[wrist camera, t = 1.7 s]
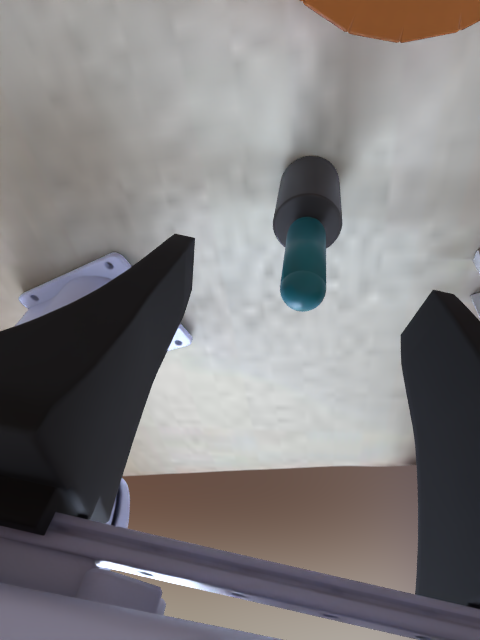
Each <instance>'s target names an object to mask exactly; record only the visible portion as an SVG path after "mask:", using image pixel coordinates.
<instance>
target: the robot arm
mask: <svg viewBox="0 0 480 640" xmlns="http://www.w3.org/2000/svg"><path fill="white" fill-rule="evenodd" d="M194 246H195V238H192V237H188V236H183V235H179V234H174V235H172V236H171V237H170V238H168V239H167V240H166V241H165V242H163V243H162V244H161V245H160V246H158V247H157V248H156V249H155V250H153V251H152V252H151V253H149V254H148V255H147V256H146V257H144V258H143V259H141V260H140V261H139V262H137V263H136V264H135V265H133V266H131V265H130V264H129V262H128V261H127V260H126V259H125V258H124V257H123V256H122V255H121V254H119V253H116V252H113V253H110V254H108V255H106V256H103V257H101V258H99V259H97V260H95V261H92V262H90V263H88V264H86V265H84V266H81V267H79V268H77V269H75V270H73V271H70V272H68V273H66V274H64V275H62V276H59V277H57V278H55V279H53V280H51V281H48V282H46V283H44V284H42V285H40V286H37V287H35V288H33V289H31V290H29V291H26V292H24V293H22V294H21V295H20V296H19V301H20V302H21V303H22V304H23V305H24V306H25V307H26V308H27V309H28V311H27V312H26V313H25V314H24V315H23V317H22V318H21V319H20V320H19V321H18V323H17V324H16V325H15V326H14V327H12V328H9V329H6V330H3V331H0V640H282V639H277V638H272V637H268V636H263V635H257V634H253V633H248V632H244V631H238V630H234V629H228V628H223V627H219V626H214V625H208V624H204V623H198V622H194V621H188V620H184V619H179V618H174V617H169V616H164V611H165V607H166V603H165V601H164V600H163V599H162V598H161V595H162V590H161V588H160V587H158V586H155V585H152V584H149V583H146V582H143V581H140V580H137V579H134V578H131V577H128V576H125V575H122V574H119V573H115V572H112V571H110V570H111V569H114V570H118V571H123V572H127V573H132V574H136V575H140V576H145V577H149V578H153V579H157V580H162V581H166V582H170V583H175V584H179V585H184V586H188V587H192V588H197V589H201V590H205V591H209V592H214V593H218V594H222V595H227V596H231V597H235V598H240V599H244V600H248V601H253V602H257V603H261V604H266V605H270V606H275V607H279V608H283V609H287V610H292V611H296V612H300V613H305V614H309V615H313V616H318V617H322V618H327V619H331V620H335V621H339V622H344V623H348V624H352V625H357V626H361V627H366V628H370V629H374V630H379V631H383V632H387V633H391V634H396V635H400V636H404V637H409V638H413V639H418V640H480V321H479V320H478V319H477V318H476V317H475V316H474V314H473V313H472V312H471V311H470V310H469V309H468V308H467V307H466V306H465V305H464V304H463V303H462V302H461V301H460V300H459V299H458V298H457V297H456V296H455V295H454V294H450V293H445V292H441V291H436V290H433V291H432V292H431V293H430V295H429V296H428V298H427V299H426V300H425V302H424V303H423V305H422V306H421V307H420V309H419V310H418V312H417V313H416V314H415V316H414V317H413V319H412V320H411V321H410V323H409V324H408V326H407V327H406V328H405V330H404V331H403V333H402V334H401V364H402V371H403V376H404V382H405V388H406V393H407V399H408V404H409V409H410V415H411V420H412V425H413V431H414V438H415V448H416V463H417V481H418V556H417V578H416V591H415V595H414V594H411V593H406V592H402V591H397V590H393V589H389V588H384V587H380V586H376V585H371V584H367V583H362V582H358V581H354V580H349V579H345V578H340V577H336V576H331V575H327V574H323V573H319V572H315V571H310V570H306V569H301V568H297V567H292V566H288V565H284V564H280V563H275V562H271V561H266V560H262V559H258V558H253V557H249V556H245V555H240V554H236V553H231V552H227V551H222V550H218V549H214V548H210V547H205V546H201V545H197V544H192V543H188V542H183V541H179V540H175V539H170V538H166V537H161V536H157V535H153V534H149V533H144V532H140V531H135V530H131V529H127V528H128V522H129V514H130V496H129V489H128V486H127V483H126V482H125V480H124V479H123V478H122V475H123V472H124V469H125V466H126V462H127V459H128V456H129V453H130V449H131V446H132V443H133V440H134V437H135V434H136V431H137V428H138V425H139V422H140V419H141V416H142V413H143V410H144V407H145V404H146V401H147V398H148V395H149V392H150V389H151V386H152V384H153V381H154V379H155V377H156V374H157V372H158V370H159V367H160V365H161V363H162V361H163V359H164V357H165V355H166V353H167V351H168V350H172V349H176V348H180V347H184V346H187V345H190V344H191V342H192V336H191V335H190V334H189V333H188V331H187V330H186V329H185V328H184V327H183V326H182V324H181V323H180V322H181V320H182V318H183V316H184V313H185V310H186V307H187V304H188V300H189V297H190V294H191V291H192V280H193V263H194ZM108 262H109V263H111V264H112V265H110V264H109V263H108Z"/></svg>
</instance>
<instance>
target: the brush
mask: <svg viewBox="0 0 480 640" xmlns="http://www.w3.org/2000/svg"><path fill="white" fill-rule="evenodd" d="M341 228H342V211H341V197H340V182H339V176H338V173H337V170H336V169H335V167H334V166H333V165H332V164H331V163H330V162H329V161H327V160H326V159H323V158H321V157H317V156H306V157H302V158H300V159H297V160H296V161H294V162H293V163H291V164H290V165H289V166H288V167H287V168H286V170H285V171H284V173H283V175H282V178H281V183H280V188H279V193H278V198H277V204H276V209H275V214H274V219H273V230H274V233H275V235H276V237H277V239H278V241H279V242H280V243H281V244H282V245H283V246H284V247H285V255H284V262H283V270H282V277H281V285H280V292H281V296H282V299H283V301H284V302H285V303H286V305H287V306H289V307H290V308H292V309H294V310H296V311H309V310H312V309H314V308H316V307H317V306H318V305H319V304H320V303H321V302H322V301H323V299H324V297H325V293H326V248H328V247H329V246H330V245H331V244H333V243H334V241H335V240H336V239H337V237H338V236H339V234H340V231H341Z"/></svg>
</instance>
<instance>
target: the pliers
mask: <svg viewBox="0 0 480 640" xmlns="http://www.w3.org/2000/svg"><path fill="white" fill-rule="evenodd" d="M473 262H474V264H475V266H476V268H477V270H478V272H479V274H480V250H477V252H476V254H475V257H474V259H473ZM470 296H471V299H472V302H473V304H474V306H475V309H476V311H477V313H478V316H479V318H480V293H477V294H473V295H470Z"/></svg>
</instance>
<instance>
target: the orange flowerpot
mask: <svg viewBox="0 0 480 640" xmlns="http://www.w3.org/2000/svg"><path fill="white" fill-rule="evenodd" d="M300 1H303V3H304V5H305V6H307V7H308V8H310V9H311V10H313V11H314V12H316V13H317V14H319V15H320V16H322V17H323V18H325V19H326V20H328V21H329V22H331V23H332V24H334V25H335V26H337V27H338V28H340V29H341V30H343V31H344V32H348V33H349V34H352V35H358V36H363V37H368V38H374V39H379V40H385V41H390V42H396V43H397V42H399V41H400V42H401V43H404V42H409V41H414V40H419V39H425V38H430V37H435V36H440V35H445V34H451V33H456V32H458V31H459V30H463V29H465V28H467V27H469V26H471V25H473V24H474V23H476V22H478V21H480V0H300Z"/></svg>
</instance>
